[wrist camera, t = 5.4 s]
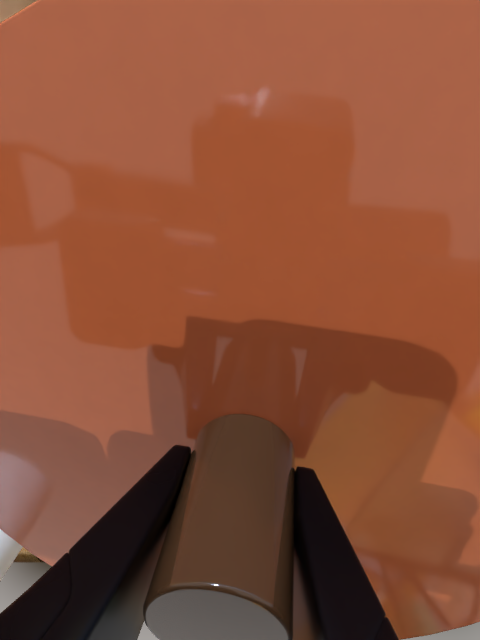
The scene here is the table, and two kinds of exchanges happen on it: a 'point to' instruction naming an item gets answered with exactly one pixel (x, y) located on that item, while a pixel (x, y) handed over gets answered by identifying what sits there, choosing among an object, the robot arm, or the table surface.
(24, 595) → the robot arm
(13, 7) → the table surface
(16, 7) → the table surface
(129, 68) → the lid
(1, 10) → the table surface
